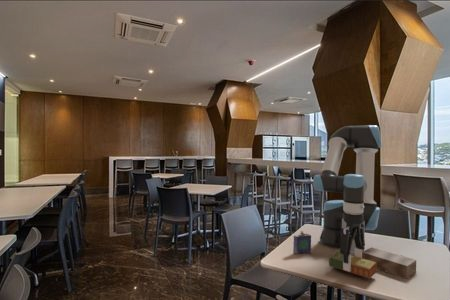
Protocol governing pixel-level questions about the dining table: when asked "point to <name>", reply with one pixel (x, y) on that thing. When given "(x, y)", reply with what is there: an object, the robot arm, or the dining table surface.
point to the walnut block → (391, 262)
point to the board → (352, 251)
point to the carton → (354, 265)
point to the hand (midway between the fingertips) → (352, 267)
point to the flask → (302, 244)
